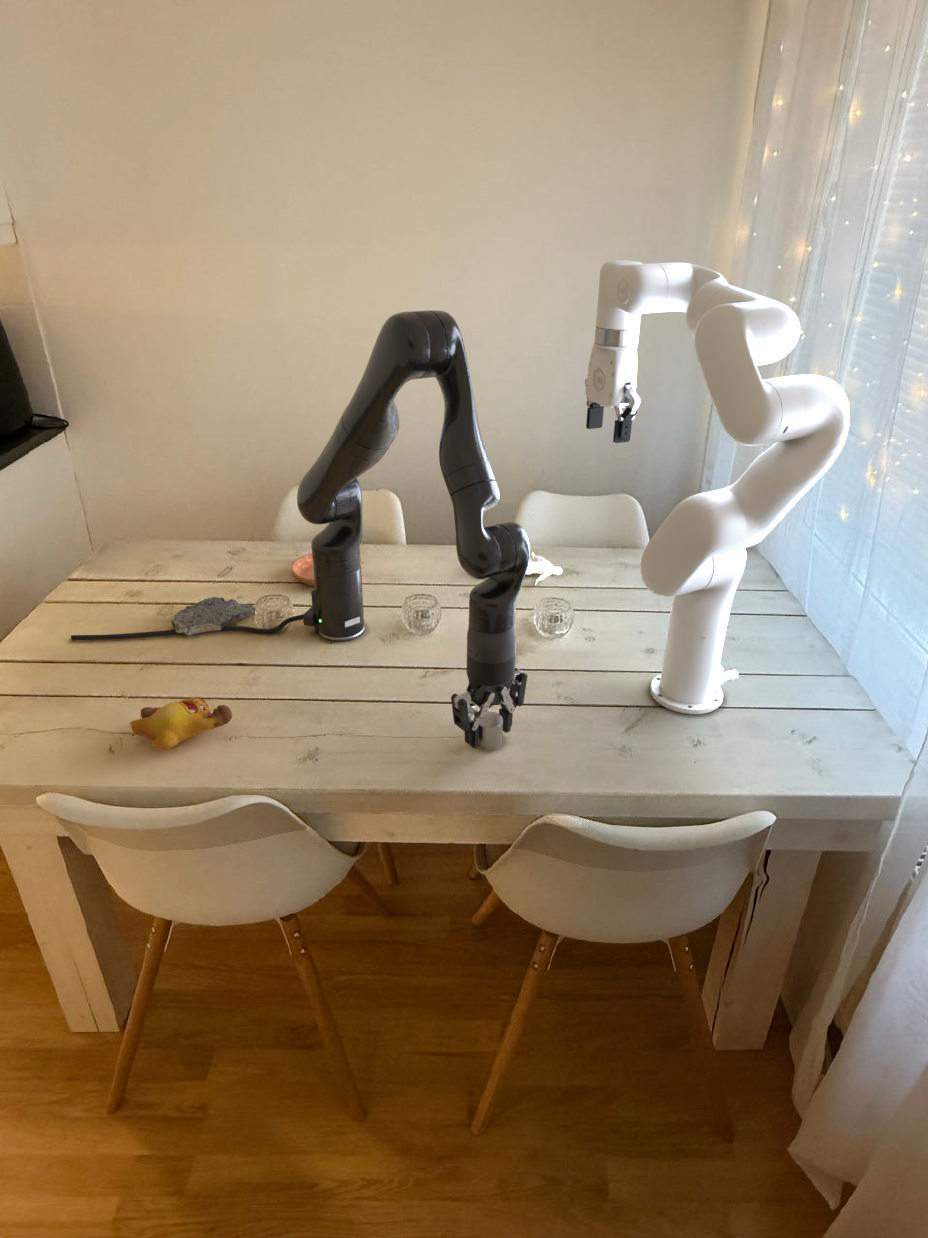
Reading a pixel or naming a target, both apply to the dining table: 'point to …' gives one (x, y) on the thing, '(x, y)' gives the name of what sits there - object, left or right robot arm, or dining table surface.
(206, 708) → the toy
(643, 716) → the dining table surface
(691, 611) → the right robot arm
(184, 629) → the stone slab
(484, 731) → the can
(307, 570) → the saucer
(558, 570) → the figurine
